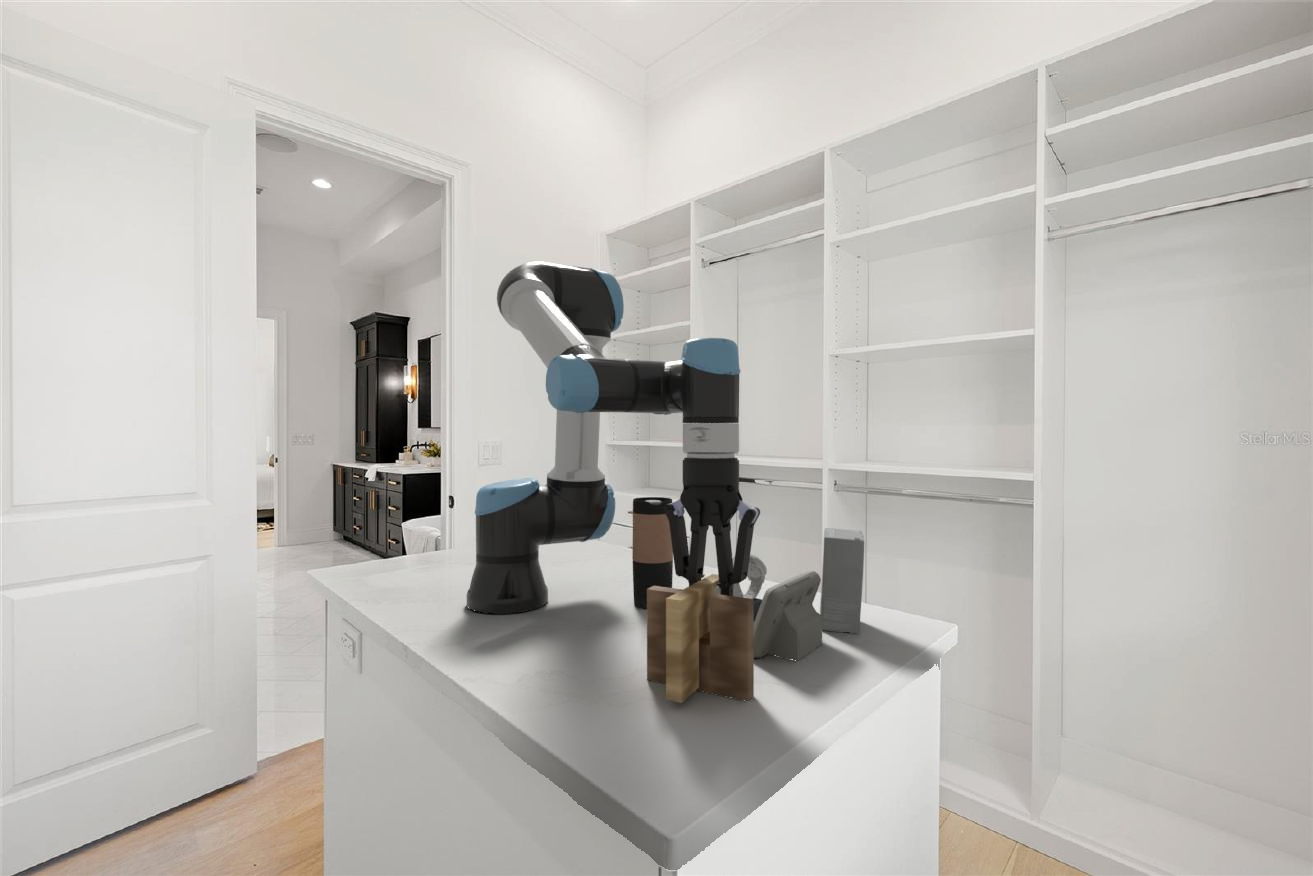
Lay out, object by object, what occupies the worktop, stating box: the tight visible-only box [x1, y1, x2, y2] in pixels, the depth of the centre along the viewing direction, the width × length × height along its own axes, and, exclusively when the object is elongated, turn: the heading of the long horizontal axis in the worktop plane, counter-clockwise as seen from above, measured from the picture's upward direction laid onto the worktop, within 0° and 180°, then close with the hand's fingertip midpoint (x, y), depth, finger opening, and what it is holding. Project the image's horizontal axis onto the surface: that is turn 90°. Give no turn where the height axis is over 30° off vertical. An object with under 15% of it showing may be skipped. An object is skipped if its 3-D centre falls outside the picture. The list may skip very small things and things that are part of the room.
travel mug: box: [631, 496, 674, 611], centre depth 115 cm, size 8×8×20 cm
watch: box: [732, 554, 768, 622], centre depth 108 cm, size 6×8×11 cm
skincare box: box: [819, 527, 865, 635], centre depth 103 cm, size 8×7×16 cm
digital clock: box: [754, 570, 823, 662], centre depth 92 cm, size 16×9×11 cm, turn 131°
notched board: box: [665, 573, 719, 703], centre depth 78 cm, size 14×2×12 cm, turn 152°
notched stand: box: [646, 586, 755, 702], centre depth 78 cm, size 14×2×12 cm, turn 62°
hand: (710, 631), depth 82 cm, fingers closed on notched board, 2 cm apart
